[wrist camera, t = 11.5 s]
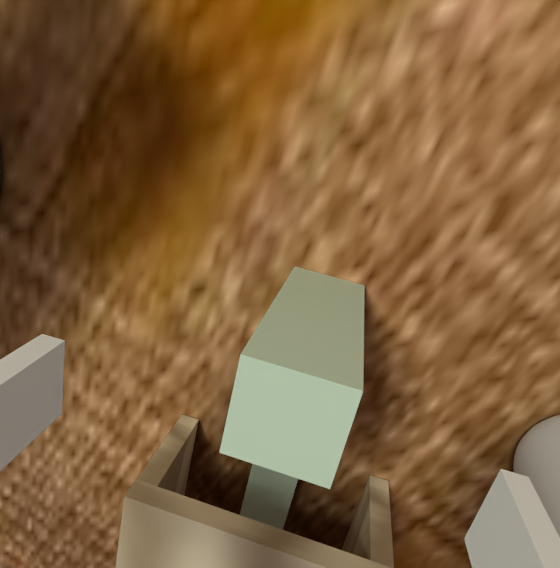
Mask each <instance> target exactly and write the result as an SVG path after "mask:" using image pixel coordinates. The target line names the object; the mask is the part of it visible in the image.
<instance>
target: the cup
mask: <svg viewBox="0 0 560 568" xmlns="http://www.w3.org/2000/svg"><path fill="white" fill-rule="evenodd" d="M513 470H514V473H517V474H520V475H524V476H527V477H529V479H530V481H531V483H532V485H533V486H534V488H535V490H536V492H537V494H538V496H539V498H540V500H541V502H542V504H543V506H544V508H545V510H546V512H547V514H548V516H549V518H550V520H551V522H552V524H553V526H554V528H555V530H556V532H557V534H558V535H559V537H560V415H556V416H553V417H550V418H548V419H545V420H543V421H541V422H540V423H538V424H536V425H535V426H534V427H532V428H531V429H530V430H529V431H528V432H527V433H526V434H525V435H524V436H523V438H522V439H521V440H520V442H519V444H518V446H517V448H516V451H515V455H514V463H513Z"/></svg>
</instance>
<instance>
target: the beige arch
mask: <svg viewBox="0 0 560 568" xmlns="http://www.w3.org/2000/svg"><path fill="white" fill-rule="evenodd" d="M198 421H199V420H198V419H195V418H192V417H189V416H186V415H183V414H182V415H181V416H180V418H179V419H178V421H177V422H176V424H175V425H174V426H173V428H172V429H171V431H170V432H169V434H168V435H167V436H166V438H165V439H164V441H163V442H162V444H161V445H160V446H159V448H158V449H157V451H156V452H155V454H154V455H153V456H152V458H151V459H150V461H149V462H148V464H147V465H146V466H145V468H144V469H143V471H142V472H141V474H140V475H139V476H138V478H137V479H136V481H135V482H134V484H133V485H132V486H131V488H130V489H129V491H128V492H127V494H126V495H125V496H124V504H123V512H122V520H121V528H120V535H119V543H118V551H117V559H116V567H115V568H394V559H393V544H392V529H391V514H390V499H389V484H388V481H387V480H384V479H381V478H378V477H375V476H371V475H369V478H368V481H367V483H366V486H365V489H364V491H363V494H362V497H361V499H360V502H359V505H358V507H357V510H356V513H355V515H354V518H353V521H352V523H351V526H350V529H349V531H348V534H347V537H346V539H345V542H344V545H343V547H342V550H339V549H336V548H333V547H331V546H328V545H325V544H322V543H319V542H316V541H313V540H310V539H307V538H305V537H302V536H299V535H296V534H293V533H290V532H287V531H284V530H281V529H279V528H276V527H273V526H270V525H267V524H264V523H261V522H258V521H255V520H253V519H250V518H247V517H244V516H241V515H238V514H235V513H232V512H229V511H227V510H224V509H221V508H218V507H215V506H212V505H209V504H206V503H203V502H201V501H198V500H195V499H192V498H189V497H186V496H184V495H185V490H186V484H187V479H188V474H189V469H190V463H191V458H192V453H193V448H194V442H195V437H196V432H197V426H198Z"/></svg>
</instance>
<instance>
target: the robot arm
mask: <svg viewBox="0 0 560 568" xmlns="http://www.w3.org/2000/svg"><path fill="white" fill-rule="evenodd" d="M1 176H2V166H1V152H0V189H1ZM64 353H65V340H61V339H58V338H55V337H51V336H48V335H44V334H41V335H39V336H38V337H36V338H34V339H33V340H31V341H29V342H28V343H26V344H25V345H23V346H21V347H20V348H18V349H16V350H15V351H13V352H12V353H10V354H8V355H7V356H5V357H4V358H2V359H0V471H1V470H2V469H3V468H4V467H5V466H6V465H7V464H8V463H10V462H11V461H12V460H13V459H14V458H15V457H16V456H17V455H18V454H19V453H20V452H21V451H22V450H23V449H25V448H26V447H27V446H28V445H29V444H30V443H31V442H32V441H33V440H34V439H35V438H36V437H37V436H39V435H40V434H41V433H42V432H43V431H44V430H45V429H46V428H47V427H48V426H49V425H50V424H51V423H53V422H54V421H55V420H56V419H57V418H58V417H59V416H60V415H61V414H62V400H63V376H64ZM464 540H465V544H466V547H467V551H468V555H469V558H470V562H471V566H472V568H560V537H559V535H558V534H557V532H556V530H555V528H554V526H553V524H552V522H551V520H550V518H549V516H548V514H547V512H546V510H545V508H544V506H543V504H542V502H541V500H540V498H539V496H538V494H537V492H536V490H535V488H534V486H533V485H532V483H531V481H530V479H529V477H527V476H524V475H520V474H517V473H513V472H510V471H507V470H503V469H500V471H499V473H498V475H497V477H496V479H495V481H494V482H493V484H492V486H491V488H490V490H489V492H488V494H487V496H486V498H485V500H484V502H483V504H482V505H481V507H480V509H479V511H478V513H477V515H476V517H475V519H474V521H473V523H472V525H471V527H470V528H469V530H468V532H467V534H466V536H465V538H464Z"/></svg>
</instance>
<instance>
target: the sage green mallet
mask: <svg viewBox="0 0 560 568" xmlns="http://www.w3.org/2000/svg"><path fill="white" fill-rule="evenodd" d="M364 295H365V285H362V284H358V283H354V282H351V281H347V280H343V279H340V278H336V277H332V276H329V275H325V274H321V273H318V272H314V271H310V270H307V269H303V268H299V267H296V266H295V267H294V269H293V270H292V272H291V273H290V275H289V277H288V278H287V280H286V282H285V283H284V285H283V286H282V288H281V290H280V291H279V293H278V294H277V296H276V298H275V299H274V301H273V303H272V304H271V306H270V307H269V309H268V311H267V312H266V314H265V315H264V317H263V319H262V320H261V322H260V324H259V325H258V327H257V328H256V330H255V332H254V333H253V335H252V337H251V338H250V340H249V341H248V343H247V345H246V346H245V348H244V349H243V351H242V353H241V355H240V359H239V364H238V368H237V373H236V378H235V382H234V387H233V392H232V396H231V401H230V405H229V410H228V415H227V419H226V424H225V429H224V433H223V438H222V443H221V447H220V452H219V453H222V454H225V455H228V456H231V457H234V458H237V459H240V460H243V461H246V462H249V463H252V467H251V471H250V475H249V479H248V483H247V487H246V491H245V495H244V499H243V503H242V507H241V511H240V515H241V516H244V517H247V518H250V519H253V520H255V521H258V522H261V523H264V524H267V525H270V526H273V527H276V528H279V529H281V530H283V528H284V524H285V521H286V518H287V514H288V511H289V508H290V504H291V501H292V498H293V494H294V491H295V488H296V485H297V481H298V479H300V480H303V481H306V482H310V483H313V484H316V485H319V486H322V487H325V488H328V489H330V488H331V485H332V482H333V479H334V476H335V473H336V470H337V468H338V465H339V462H340V459H341V456H342V453H343V450H344V447H345V444H346V441H347V438H348V435H349V432H350V429H351V426H352V423H353V420H354V417H355V414H356V411H357V408H358V406H359V403H360V400H361V397H362V394H363V380H364Z"/></svg>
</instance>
